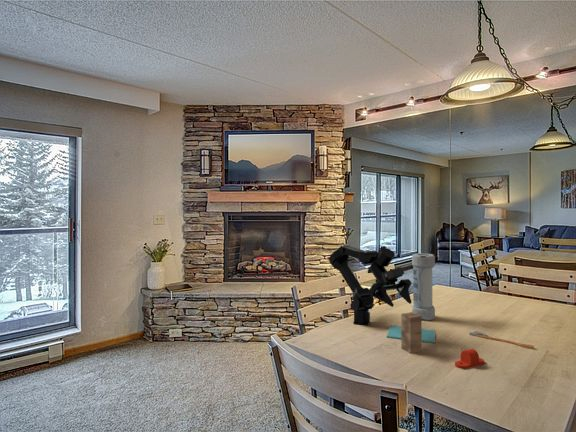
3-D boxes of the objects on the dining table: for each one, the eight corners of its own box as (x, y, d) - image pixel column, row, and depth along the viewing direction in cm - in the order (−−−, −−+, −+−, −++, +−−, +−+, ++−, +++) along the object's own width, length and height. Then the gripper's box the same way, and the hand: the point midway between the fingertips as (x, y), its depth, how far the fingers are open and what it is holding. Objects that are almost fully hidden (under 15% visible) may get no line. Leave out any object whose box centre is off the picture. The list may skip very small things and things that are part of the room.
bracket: (462, 370, 115) (462, 355, 115) (452, 365, 118) (452, 350, 118) (486, 364, 119) (486, 349, 119) (476, 359, 123) (476, 345, 123)
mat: (386, 337, 144) (386, 335, 144) (390, 326, 157) (390, 325, 157) (434, 343, 137) (434, 341, 137) (434, 331, 150) (434, 330, 150)
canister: (411, 319, 167) (411, 255, 166) (412, 313, 176) (412, 253, 175) (434, 321, 163) (434, 256, 162) (434, 315, 172) (434, 253, 172)
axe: (537, 345, 135) (537, 341, 135) (533, 351, 130) (533, 346, 130) (474, 331, 151) (473, 327, 151) (468, 336, 146) (468, 332, 146)
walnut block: (401, 348, 133) (401, 313, 133) (412, 346, 135) (412, 312, 134) (410, 353, 128) (410, 317, 128) (421, 351, 130) (421, 315, 130)
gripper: (371, 262, 141) (392, 294, 131) (406, 259, 149) (429, 288, 139) (360, 281, 148) (379, 312, 137) (395, 277, 156) (415, 306, 145)
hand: (401, 304), depth 139 cm, fingers open, 9 cm apart
